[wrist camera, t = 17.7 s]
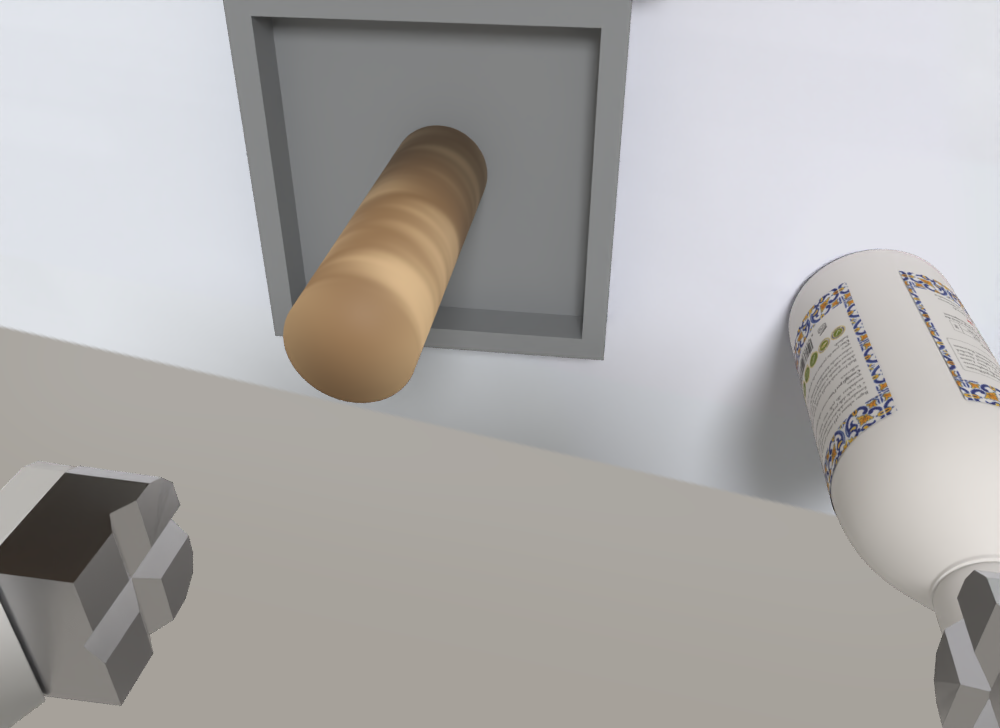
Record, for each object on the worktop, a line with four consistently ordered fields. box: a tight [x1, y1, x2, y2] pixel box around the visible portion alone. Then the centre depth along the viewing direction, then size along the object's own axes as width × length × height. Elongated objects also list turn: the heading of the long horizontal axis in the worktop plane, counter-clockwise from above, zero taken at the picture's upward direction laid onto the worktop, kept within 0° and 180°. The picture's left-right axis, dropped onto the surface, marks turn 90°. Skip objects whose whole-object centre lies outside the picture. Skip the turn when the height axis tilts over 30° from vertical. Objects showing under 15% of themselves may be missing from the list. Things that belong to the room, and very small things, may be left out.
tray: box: [223, 0, 632, 360], centre depth 37 cm, size 15×15×3 cm
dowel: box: [283, 125, 487, 403], centre depth 32 cm, size 4×4×14 cm
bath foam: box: [789, 249, 1000, 635], centre depth 32 cm, size 7×7×20 cm
